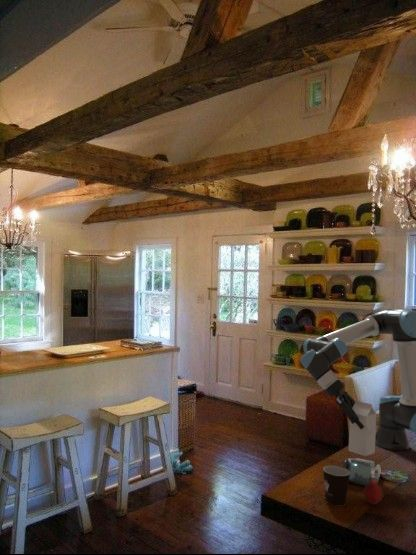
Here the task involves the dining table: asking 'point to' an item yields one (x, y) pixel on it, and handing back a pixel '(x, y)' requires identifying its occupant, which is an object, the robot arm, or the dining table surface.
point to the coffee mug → (336, 484)
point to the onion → (373, 492)
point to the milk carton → (356, 437)
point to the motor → (362, 471)
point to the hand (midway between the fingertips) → (371, 432)
